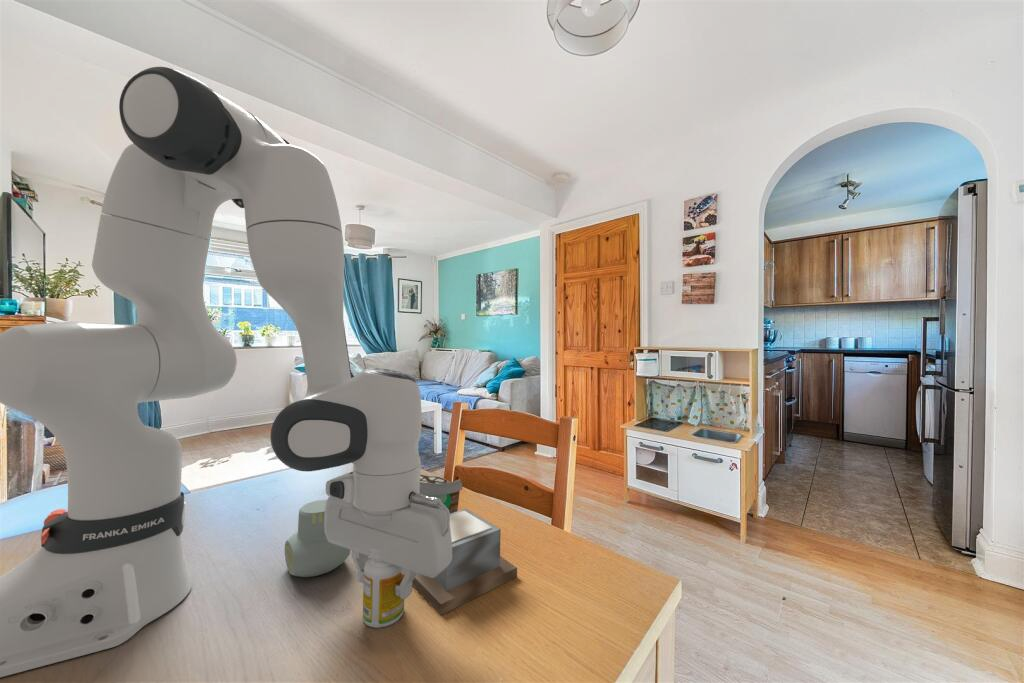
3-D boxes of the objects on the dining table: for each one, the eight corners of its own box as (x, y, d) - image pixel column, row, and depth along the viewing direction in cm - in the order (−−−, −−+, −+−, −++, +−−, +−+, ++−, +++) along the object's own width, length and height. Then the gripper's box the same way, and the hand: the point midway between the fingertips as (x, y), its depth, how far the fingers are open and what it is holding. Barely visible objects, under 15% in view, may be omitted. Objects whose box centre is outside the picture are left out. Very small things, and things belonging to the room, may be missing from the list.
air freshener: (353, 572, 61) (355, 510, 62) (296, 593, 56) (298, 525, 56) (333, 545, 70) (335, 490, 70) (281, 561, 64) (283, 501, 64)
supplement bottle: (409, 603, 54) (411, 534, 54) (394, 631, 49) (396, 555, 49) (373, 600, 55) (375, 532, 55) (354, 627, 49) (356, 552, 50)
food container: (394, 526, 77) (395, 477, 78) (415, 515, 83) (416, 469, 83) (442, 542, 72) (444, 488, 72) (461, 528, 77) (462, 479, 77)
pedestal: (440, 615, 52) (442, 558, 52) (397, 569, 63) (398, 522, 63) (517, 576, 61) (518, 528, 61) (468, 542, 72) (468, 501, 72)
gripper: (463, 492, 51) (460, 597, 50) (353, 468, 59) (350, 558, 59) (433, 510, 45) (430, 629, 45) (317, 481, 54) (313, 579, 53)
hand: (384, 588), depth 52 cm, fingers closed on supplement bottle, 5 cm apart
